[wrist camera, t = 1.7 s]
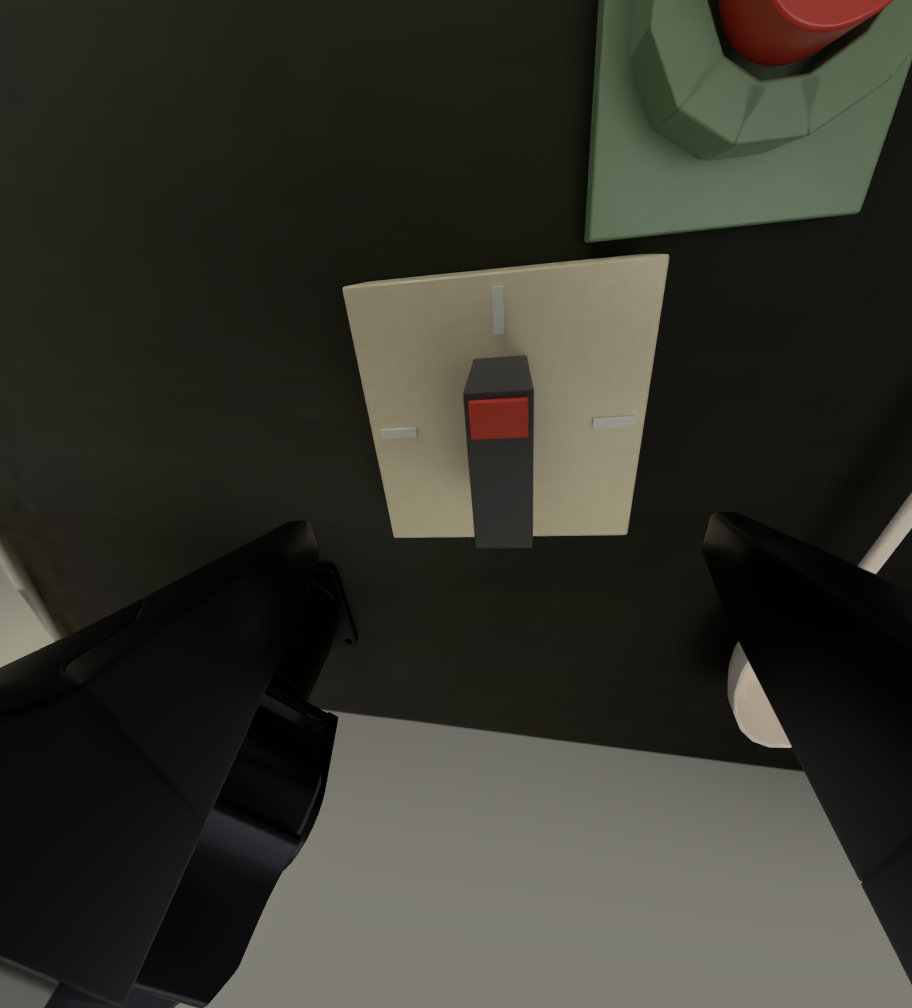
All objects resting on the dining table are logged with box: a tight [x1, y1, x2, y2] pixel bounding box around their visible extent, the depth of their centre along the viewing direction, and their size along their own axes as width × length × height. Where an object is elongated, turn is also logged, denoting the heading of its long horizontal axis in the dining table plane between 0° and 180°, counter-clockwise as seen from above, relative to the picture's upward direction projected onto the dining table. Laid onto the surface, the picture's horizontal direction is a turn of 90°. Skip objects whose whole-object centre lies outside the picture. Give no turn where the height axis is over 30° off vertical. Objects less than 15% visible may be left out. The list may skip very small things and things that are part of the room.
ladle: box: [728, 493, 912, 748], centre depth 17 cm, size 6×28×5 cm, turn 176°
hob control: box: [343, 254, 669, 538], centre depth 16 cm, size 10×10×3 cm
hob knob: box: [463, 355, 534, 548], centre depth 13 cm, size 5×2×4 cm, turn 6°
